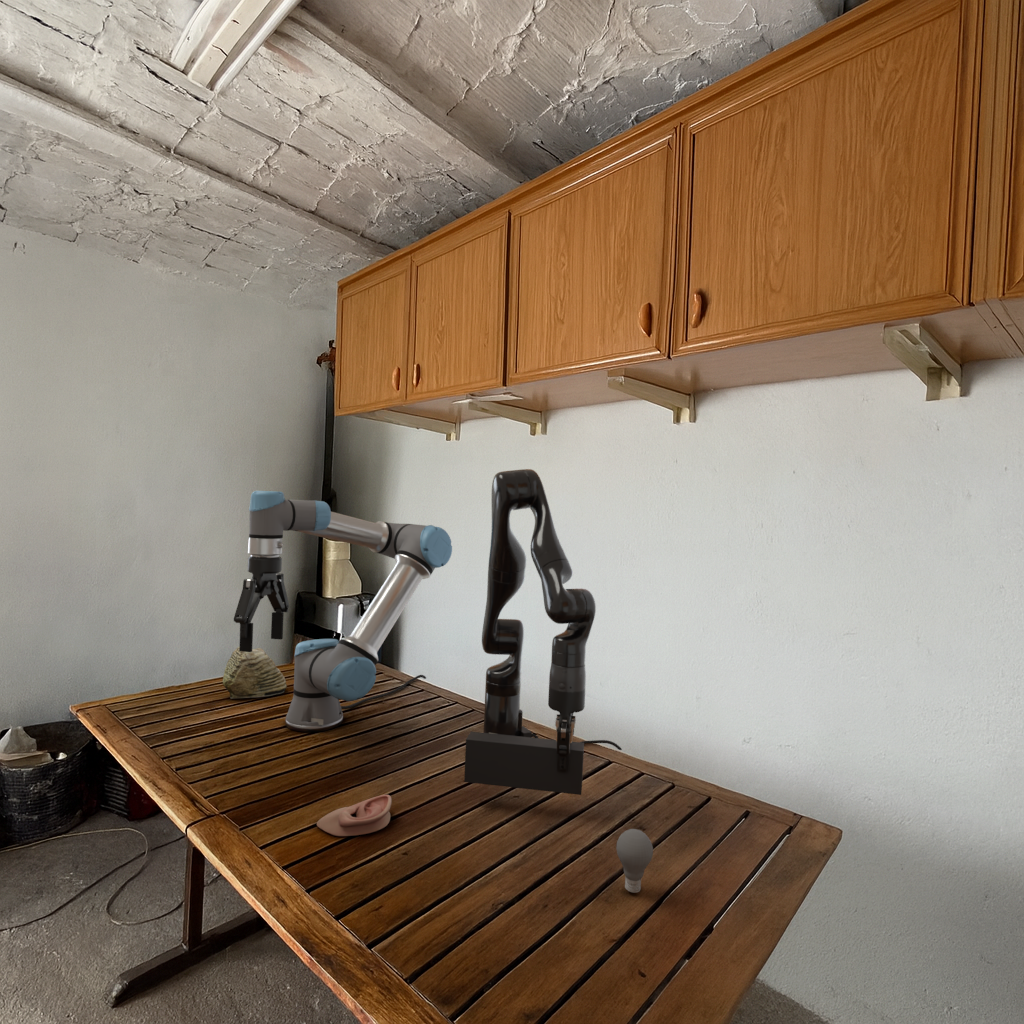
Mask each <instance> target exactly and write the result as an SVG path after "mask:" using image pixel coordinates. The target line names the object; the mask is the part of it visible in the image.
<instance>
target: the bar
mask: <svg viewBox="0 0 1024 1024" xmlns="http://www.w3.org/2000/svg"><path fill="white" fill-rule="evenodd" d="M560 748H564V749H567V746H565V745H560ZM556 750H557V741H556V739H550V738H541V737H538V738H535V737H521V736H511V735H501V734H491V733H483V732H481V731H470V732H469V734H468V735H467V737H466V739H465V755H464V774H463V775H464V778H463V783H470V784H480V785H481V784H482V785H488V786H496V787H497V786H499V787H504V788H505V787H506V788H515V789H523V790H524V789H525V790H533V791H542V792H551V793H559V794H560V793H561V794H567V795H568V794H569V795H577V796H582V792H583V779H584V778H583V777H584V776H583V775H584V774H583V773H584V755H585V754H584V753H585V752H584V751H585V744H584V743H582V741H573V742H572V743H570V754H569V766H568V773H559V772H558V771H557V764H558V754H557V752H556Z"/></svg>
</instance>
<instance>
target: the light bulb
mask: <svg viewBox="0 0 1024 1024" xmlns="http://www.w3.org/2000/svg"><path fill="white" fill-rule="evenodd" d="M615 849H616V854H617V857H618V859H619V861H620V863H621V865H622V867H623V873H624V874H623V875H624V876H625V878H624V888H625V890H627V891H628V892H630V893H634V894H635V893H639V892H640V891H641V889H642V887H641V886H642V879H643V877H644V875H645V871H646V868H647V867H648V866H649V864H650V863H651V861H652V859H653V855H654V847H653V843H652V841H651V838H649V836H648V835H647V834H646V833H645V832H643V831H642V830H641V829H636V828H629V829H627V830H625V831H623V832H622V833H621V834H620V835H619V837H618V839H617V841H616V847H615Z"/></svg>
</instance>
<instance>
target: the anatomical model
mask: <svg viewBox="0 0 1024 1024" xmlns="http://www.w3.org/2000/svg"><path fill="white" fill-rule="evenodd" d="M392 801H393V800H392V796H391V795H389V794H380V795H377V796H373V797H371V798H368V799H365V800H362V801H360V802H357V803H355V804H353V805H349V806H345V807H340V808H337V809H335V810H332V811H331V812H328V813H326V814H325V815H324V816H323V817H321V818H319V820H318V821H317V822H316V826H317V828H319V829H320V830H322V831H324V832H325V833H326V834H327V833H328V834H330V835H332V836H336V837H351V836H359V835H360V836H361V835H366V834H371V833H375V832H378V831H380V830H383V829H384V828H385V827H387V826H388V824H389V823H390V822H391V813H390V810H391V808H392V803H393V802H392Z"/></svg>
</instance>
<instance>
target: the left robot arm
mask: <svg viewBox="0 0 1024 1024" xmlns="http://www.w3.org/2000/svg"><path fill="white" fill-rule="evenodd" d="M285 497H286V496H285V493H284V492H283V491H275V490H254V491H252V493H251V494H250V500H249V508H248V511H249V521H248V522H249V528H248V529H249V530H248V544H247V546H248V547H247V554H248V555H250V556H248V557H247V572H248V573H251V574H252V577H251V578H244V579H243V582H242V589H241V593H240V596H239V599H238V603H237V607H236V609H235V613H234V616H233V622H234V623H236V624H239V646H238V647H239V651H242V652H252V649H253V640H254V639H253V637H254V636H253V635H254V623H253V622H252V620H253V618H254V616H255V613H256V611H257V609H258V607H259V604H260V602H261V600H263V599H264V597H265V596H267V599H268V601H269V603H270V605H271V607H272V609H273V612H271V626H270V627H271V629H270V639H271V640H280V641H281V640H283V638H284V616H285V615H284V613H288V612H289V607H290V603H289V597H288V594H287V589H286V586H285V576H284V573H283V572H282V568H283V567H282V566H283V558H282V556H281V555H282V554H283V546H284V543H283V538H284V531H285V532H286V531H287V532H288V531H293V532H298V533H302V534H306V535H311V536H315V537H320V538H324V539H329V540H333V541H338V542H342V543H345V544H346V543H347V544H350V545H351V544H352V545H354V546H360V547H364V548H368V549H369V550H370V551H371V552H372V553H374V554H380V555H383V556H385V557H389V558H391V559H394V560H395V565H394V567H393V568H392V570H391V571H390V573H389V574H388V576H387V577H386V579H385V580H384V582H383V583H382V585H381V587H380V588H379V589H378V592H376V594H375V596H374V598H373V599H372V601H371V602H370V604H369V606H368V607H367V608H366V610H365V611H364V613H363V614H362V616H361V618H359V621H358V622H357V624H356V625H355V627H354V629H353V630H352V632H351V633H350V634H349V635H348V636H344V637H341V638H340V640H339V639H337V638H319V639H308V640H303V641H300V642H299V643H298V642H297V644H296V646H295V650H294V655H293V657H294V672H293V695H292V696H293V697H292V699H291V702H290V704H289V708H288V711H287V713H286V715H285V726H286V728H287V729H289V730H291V731H294V732H295V731H296V732H301V733H316V732H325V731H329V730H332V729H335V728H337V727H339V726H340V725H342V723H343V722H344V714H343V710H348V709H352V708H354V707H357V706H359V705H361V704H364V703H366V702H368V701H369V702H370V701H372V700H377V699H380V698H383V697H386V696H390V695H391V694H394V693H397V692H398V691H400V690H402V689H404V688H405V687H406V686H407V685H409V684H410V683H413V682H414V681H416V680H418V679H420V678H422V679H423V680H424V679H427V677H426V675H423V674H418V675H416V676H414V677H413V678H410V679H409V680H407V681H405V682H404V683H403V684H402V685H400V686H398V687H396V688H394V689H391V690H389V691H388V692H385V693H381V694H377V695H372V696H370V697H367V698H364V697H365V696H366V695H367V694H368V693H369V692H370V691H371V690H372V688H373V687H374V685H375V683H376V680H377V675H376V674H377V668H376V665H377V664H378V663H379V656H378V652H379V650H380V648H381V647H382V645H383V644H384V641H385V640H386V638H387V637H388V635H389V634H390V632H391V630H392V629H393V627H394V626H395V624H396V623H397V621H398V619H399V617H400V616H401V614H402V612H403V611H404V609H405V608H406V606H407V604H408V603H409V601H410V599H411V598H412V596H413V595H414V593H415V592H416V590H417V588H418V587H419V585H420V583H421V582H422V581H423V580H426V579H430V577H431V576H432V574H433V572H434V570H435V569H437V568H441V567H444V566H446V565H447V564H448V563H449V561H450V559H451V557H452V553H453V546H452V539H451V536H450V534H449V533H448V532H447V531H446V529H444V528H442V527H439V526H435V525H433V524H427V525H425V524H415V523H396V522H395V523H394V522H387V521H383V520H378V521H376V522H373V521H370V520H365V519H361V518H358V517H354V516H350V515H346V514H344V513H343V514H342V513H339V512H335V511H331V507H330V505H329V504H328V503H327V502H325V501H323V500H316V499H315V500H309V499H308V500H306V499H288V498H287V499H286V498H285ZM362 698H364V699H362ZM360 699H361V700H360ZM340 700H342V701H345V702H353V701H354V703H352V704H348V705H341V702H340ZM357 700H359V701H357ZM355 701H356V702H355Z"/></svg>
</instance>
